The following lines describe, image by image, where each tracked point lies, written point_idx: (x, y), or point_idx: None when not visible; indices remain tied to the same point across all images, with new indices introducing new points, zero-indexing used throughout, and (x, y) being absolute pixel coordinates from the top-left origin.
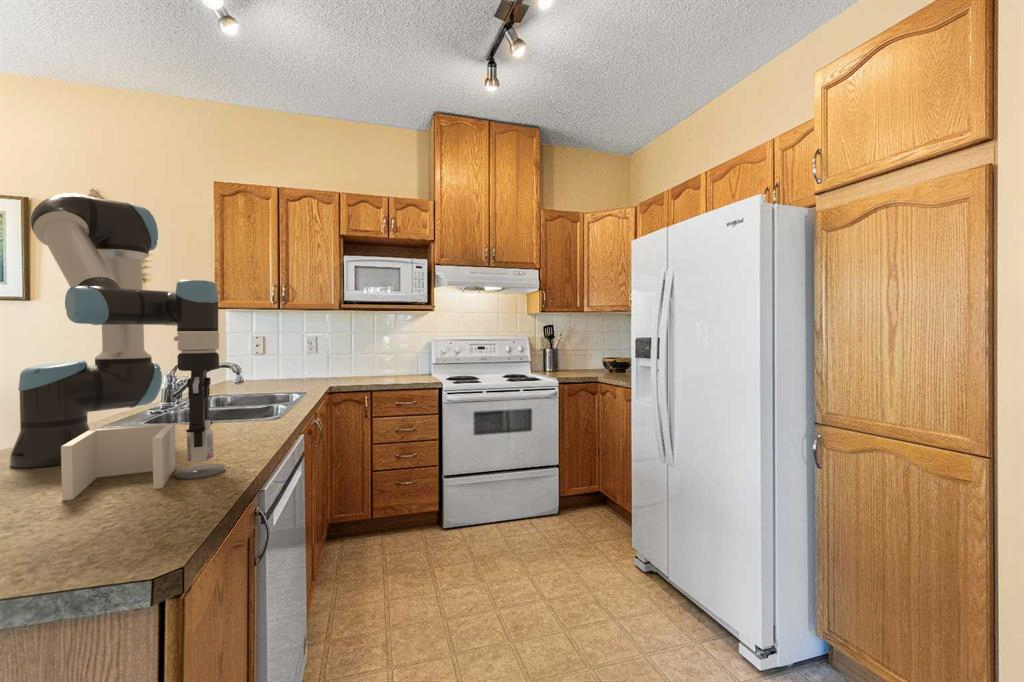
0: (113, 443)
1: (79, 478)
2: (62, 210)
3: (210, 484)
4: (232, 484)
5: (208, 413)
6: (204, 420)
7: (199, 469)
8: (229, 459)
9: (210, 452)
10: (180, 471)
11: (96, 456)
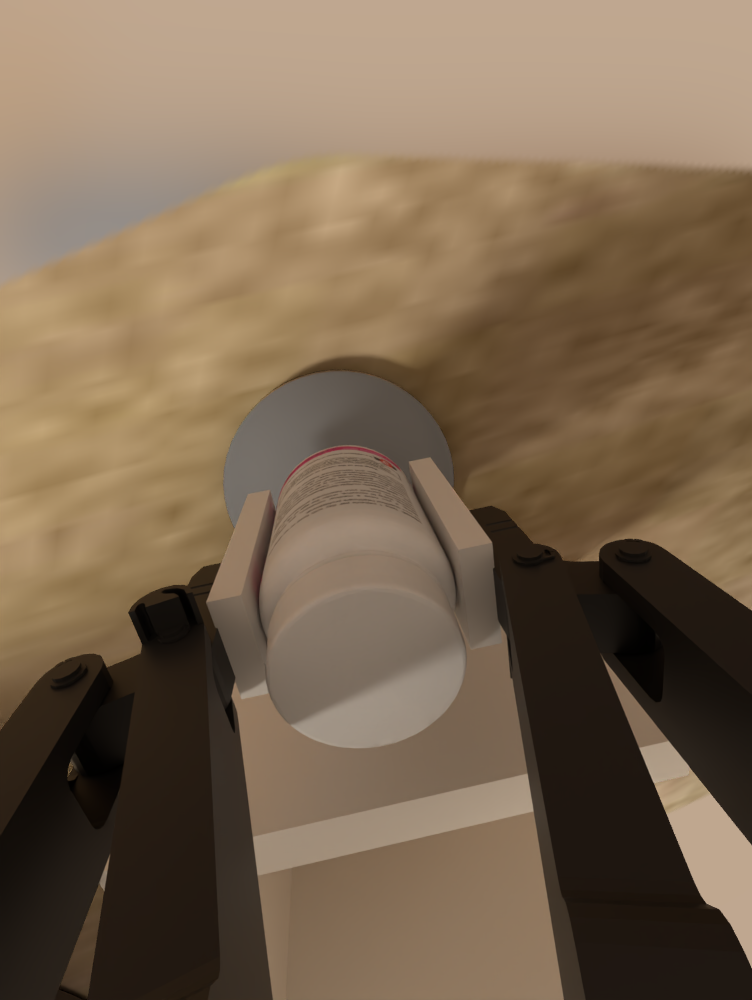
0: (270, 951)
1: (503, 834)
2: None
3: (568, 371)
4: (619, 252)
5: (56, 718)
6: (569, 602)
7: None
8: (48, 410)
9: (377, 462)
10: None
11: (291, 922)
